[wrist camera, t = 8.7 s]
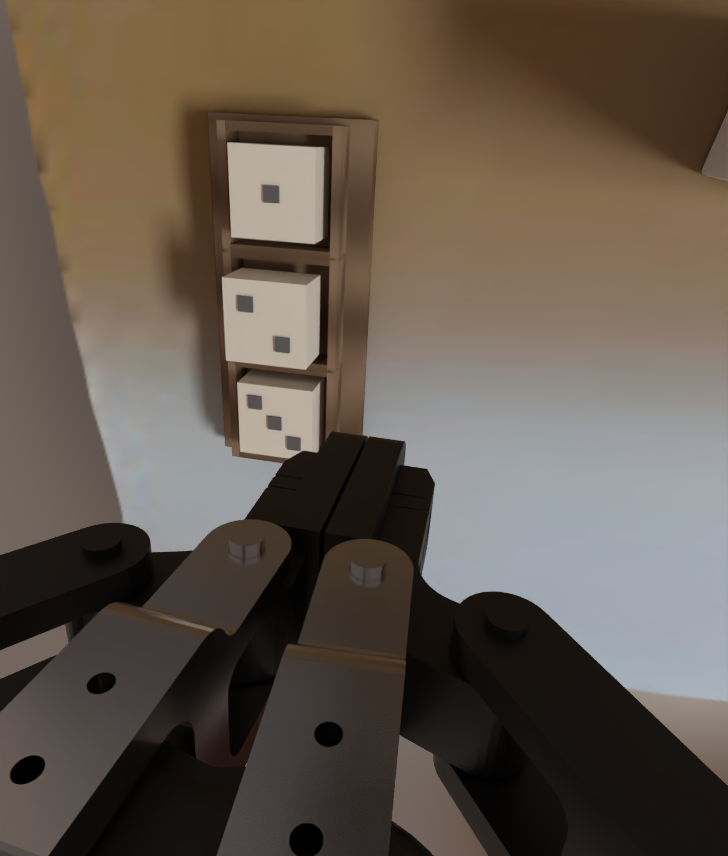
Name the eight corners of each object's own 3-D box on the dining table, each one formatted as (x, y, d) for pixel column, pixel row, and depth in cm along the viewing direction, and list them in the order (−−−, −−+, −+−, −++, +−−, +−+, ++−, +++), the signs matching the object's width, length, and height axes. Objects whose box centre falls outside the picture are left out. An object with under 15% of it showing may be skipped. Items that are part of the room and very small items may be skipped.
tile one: (247, 142, 37) (226, 142, 34) (329, 146, 36) (315, 147, 33) (250, 230, 39) (230, 237, 36) (327, 236, 38) (313, 244, 35)
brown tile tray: (216, 112, 38) (192, 110, 35) (378, 120, 36) (367, 119, 33) (231, 439, 47) (213, 458, 44) (361, 456, 46) (351, 478, 43)
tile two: (241, 267, 38) (220, 277, 36) (320, 274, 38) (305, 285, 35) (244, 346, 41) (224, 361, 38) (319, 354, 40) (304, 370, 37)
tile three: (254, 367, 43) (236, 383, 40) (324, 375, 42) (311, 392, 39) (256, 433, 45) (239, 452, 42) (323, 442, 44) (311, 462, 41)
